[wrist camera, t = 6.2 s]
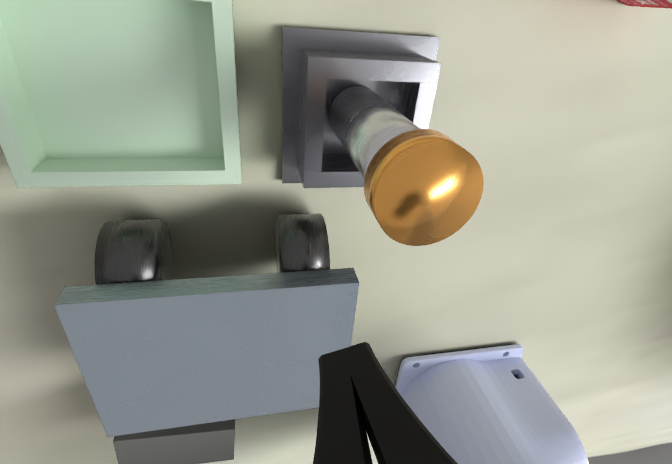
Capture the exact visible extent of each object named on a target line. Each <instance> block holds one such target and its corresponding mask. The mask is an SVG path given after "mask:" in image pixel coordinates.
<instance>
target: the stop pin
mask: <svg viewBox="0 0 672 464" xmlns="http://www.w3.org/2000/svg"><path fill="white" fill-rule="evenodd" d="M329 118H330V124H331V126H332V129H333V130H334V132H335V134H336V135H337V137H338V138H339V140H340V142H341V143H342V145H343V146H344V148H345V149H346V151H347V153H348V154H349V156H350V157H351V159H352V161H353V162H354V164H355V165H356V167H357V169H358V170H359V172H360V173H361V175H362V177H363V178H364V194H365V198H366V201H367V203H368V205H369V207H370V209H371V210H372V212H373V214H374V216H375V217H376V219H377V221H378V223H379V224H380V226H381V228H382V229H383V231H384V232H385V233H386V234H387V235H388V236H389V237H390V238H392V239H393V240H395V241H397V242H399V243H402V244H406V245H412V246H421V245H428V244H433V243H436V242H439V241H441V240H443V239H445V238H447V237H449V236H451V235H452V234H454V233H455V232H456V231H458V230H459V229H460V228H461V227H462V226H463V225H464V224H465V223H466V222H467V221H468V220H469V219H470V218H471V216H472V215H473V213H474V212H475V210H476V208H477V206H478V204H479V202H480V199H481V195H482V191H483V175H482V171H481V168H480V166H479V164H478V162H477V160H476V159H475V158H474V157H473V156H472V155H471V154H470V153H469V152H468V151H466V150H465V149H464V148H462V147H461V146H460V145H458V144H457V143H455V142H454V141H453V140H451V139H450V138H449V137H447V136H446V135H444V134H442V133H440V132H438V131H434V130H430V129H420V128H418V127H417V126H416V125H415V124H413V123H412V122H411V121H410V120H408V119H407V118H406V117H405V116H404V115H402V114H401V113H400V112H399V111H397V110H396V109H395V108H394V107H393V106H391V105H390V104H389V103H388V102H386V101H385V100H384V99H383V98H381V97H380V96H379V95H378V94H377V93H375V92H374V91H373V90H371V89H370V88H367V87H364V86H353V87H350V88H347V89H345V90H344V91H342V92H341V93H340V94H339V95H338V96H337V97H336V98H335V99H334V101H333V103H332V105H331V108H330V114H329Z"/></svg>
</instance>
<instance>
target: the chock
mask: <svg viewBox="0 0 672 464" xmlns="http://www.w3.org/2000/svg"><path fill="white" fill-rule="evenodd" d="M234 435H235V419H232V420H225V421H218V422H211V423H204V424H197V425H190V426H183V427H176V428H168V429H161V430H154V431H147V432H140V433H133V434H126V435H119V436H115V437H114V441H113V443H114V447H115V451H116V455H117V459H118V463H119V464H199V463H208V462H216V461H224V460H233V459H234Z"/></svg>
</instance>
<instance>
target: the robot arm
mask: <svg viewBox="0 0 672 464" xmlns="http://www.w3.org/2000/svg"><path fill="white" fill-rule="evenodd" d="M523 352H524V348H523V347H522V346H521V345H520V344H516V345H507V346H499V347H490V348H482V349H474V350H465V351H457V352H448V353H440V354H432V355H423V356H415V357H408V358H405V359H404V360H402V362H401V365H400V369H399V373H398V378H397V382H396V386H395V387H394V385H393V384H392V382H391V381H390V379H389V378H388V376H387V375H386V373H385V372H384V370H383V368H382V367H381V365H380V364H379V362H378V360H377V358H376V357H375V355H374V353H373V351H372V349H371V347H370V345H369V344H368V343H366V342H364V343H360V344H357V345H354V346H350V347H347V348H344V349H340V350H337V351H334V352H330V353H327V354H324V355H321V356H320V358H319V359H318V361H319V373H320V397H319V415H318V426H317V438H316V447H315V454H314V461H313V464H372V459H371V454H370V449H369V443H368V438H367V434H368V437H369V440H370V442H371V445H372V448H373V450H374V453H375V456H376V458H377V461H378V464H589V462H588V458H587V455H586V452H585V450H584V447H583V445H582V442H581V440H580V438H579V436H578V434H577V433H576V431H575V429H574V428H573V426H572V425H571V423H570V422H569V421H568V419H567V418H566V417H565V415H564V414H563V413H562V411H561V410H560V409H559V407H558V406H557V405H556V403H555V402H554V401H553V399H552V398H551V397H550V395H549V394H548V393H547V391H546V390H545V389H544V387H543V386H542V385H541V383H540V382H539V381H538V379H537V378H536V377H535V375H534V374H533V373H532V371H531V370H530V369H529V367H528V366H527V365H526V363H525V362H524V361H523V359H522V358H521V356H522V354H523ZM366 432H367V433H366Z"/></svg>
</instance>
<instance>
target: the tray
mask: <svg viewBox="0 0 672 464" xmlns="http://www.w3.org/2000/svg"><path fill="white" fill-rule="evenodd" d="M0 145H1V147H2V150H3V153H4V155H5V158H6V160H7V163H8V165H9V168H10V170H11V173H12V176H13V178H14V181H15V183H16V186H17V188H40V187H97V186H154V185H211V184H241V150H240V132H239V115H238V97H237V79H236V62H235V44H234V26H233V9H232V0H0Z"/></svg>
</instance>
